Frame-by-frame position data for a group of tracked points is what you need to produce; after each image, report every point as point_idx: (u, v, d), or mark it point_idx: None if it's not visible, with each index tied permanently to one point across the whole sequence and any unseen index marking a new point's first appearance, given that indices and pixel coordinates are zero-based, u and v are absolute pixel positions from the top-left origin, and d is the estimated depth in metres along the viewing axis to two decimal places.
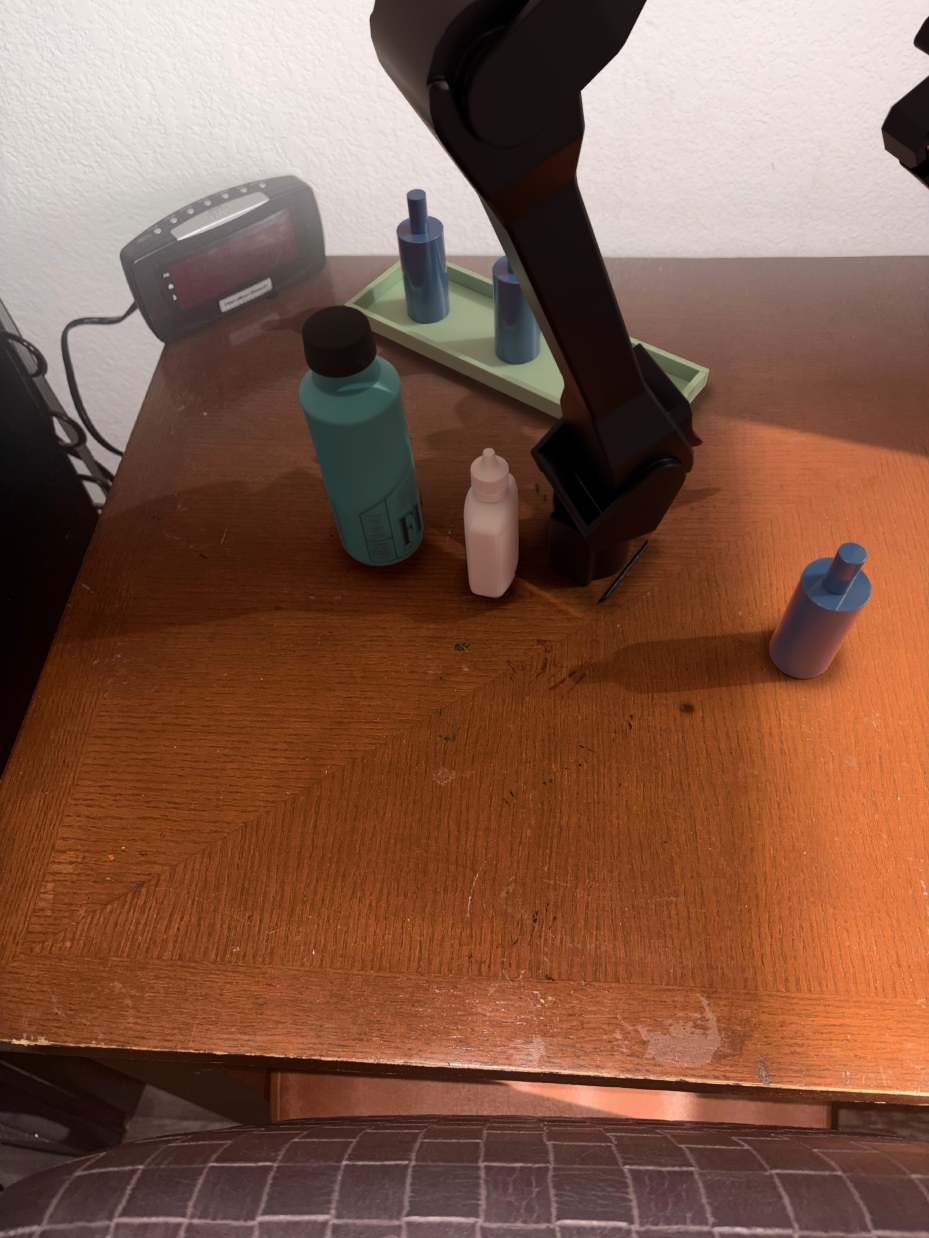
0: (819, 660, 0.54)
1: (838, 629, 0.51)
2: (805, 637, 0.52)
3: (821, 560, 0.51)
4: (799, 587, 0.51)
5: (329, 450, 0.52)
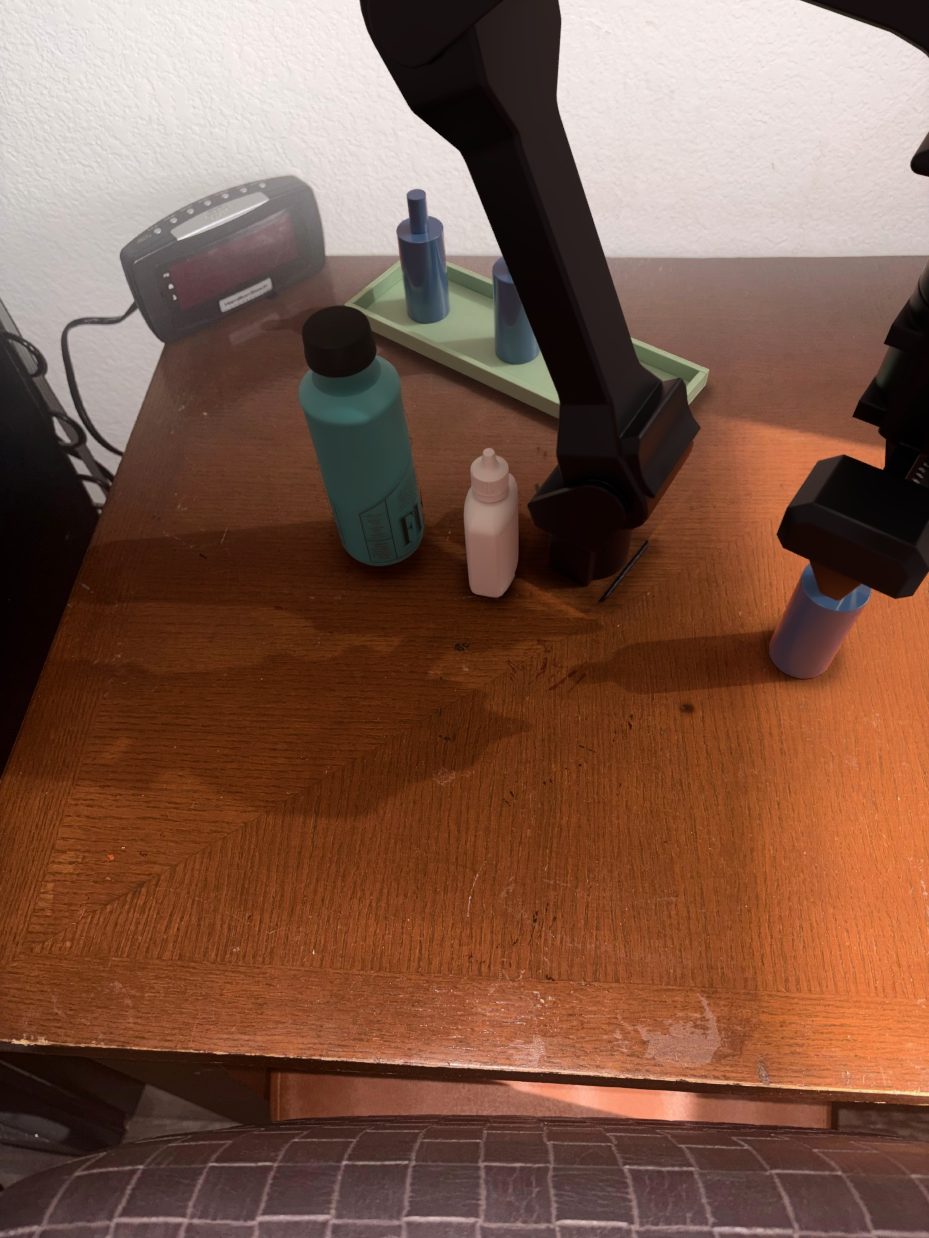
0: (819, 660, 0.54)
1: (838, 629, 0.51)
2: (805, 637, 0.52)
3: None
4: (799, 587, 0.51)
5: (329, 450, 0.52)
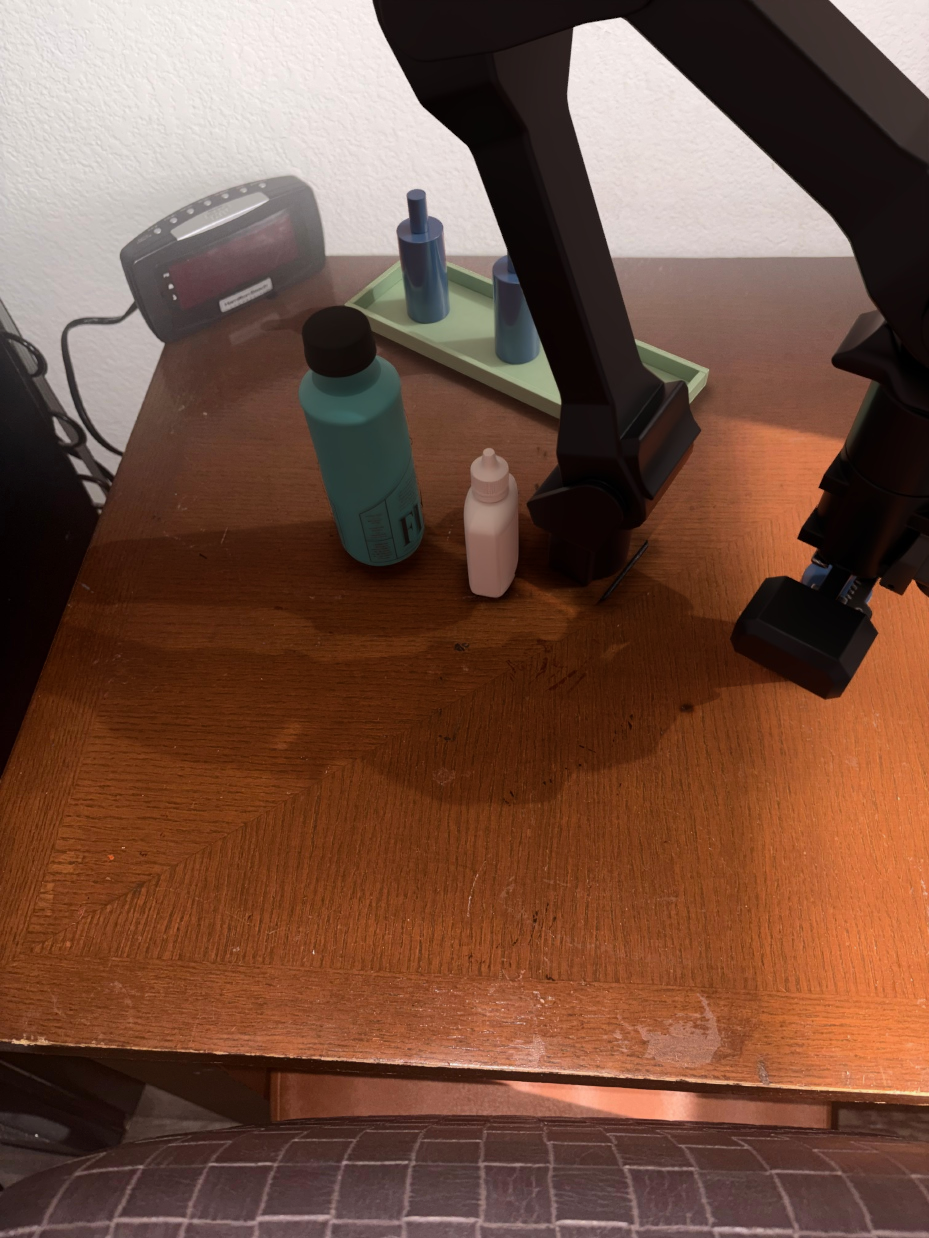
0: None
1: None
2: None
3: None
4: None
5: (329, 450, 0.52)
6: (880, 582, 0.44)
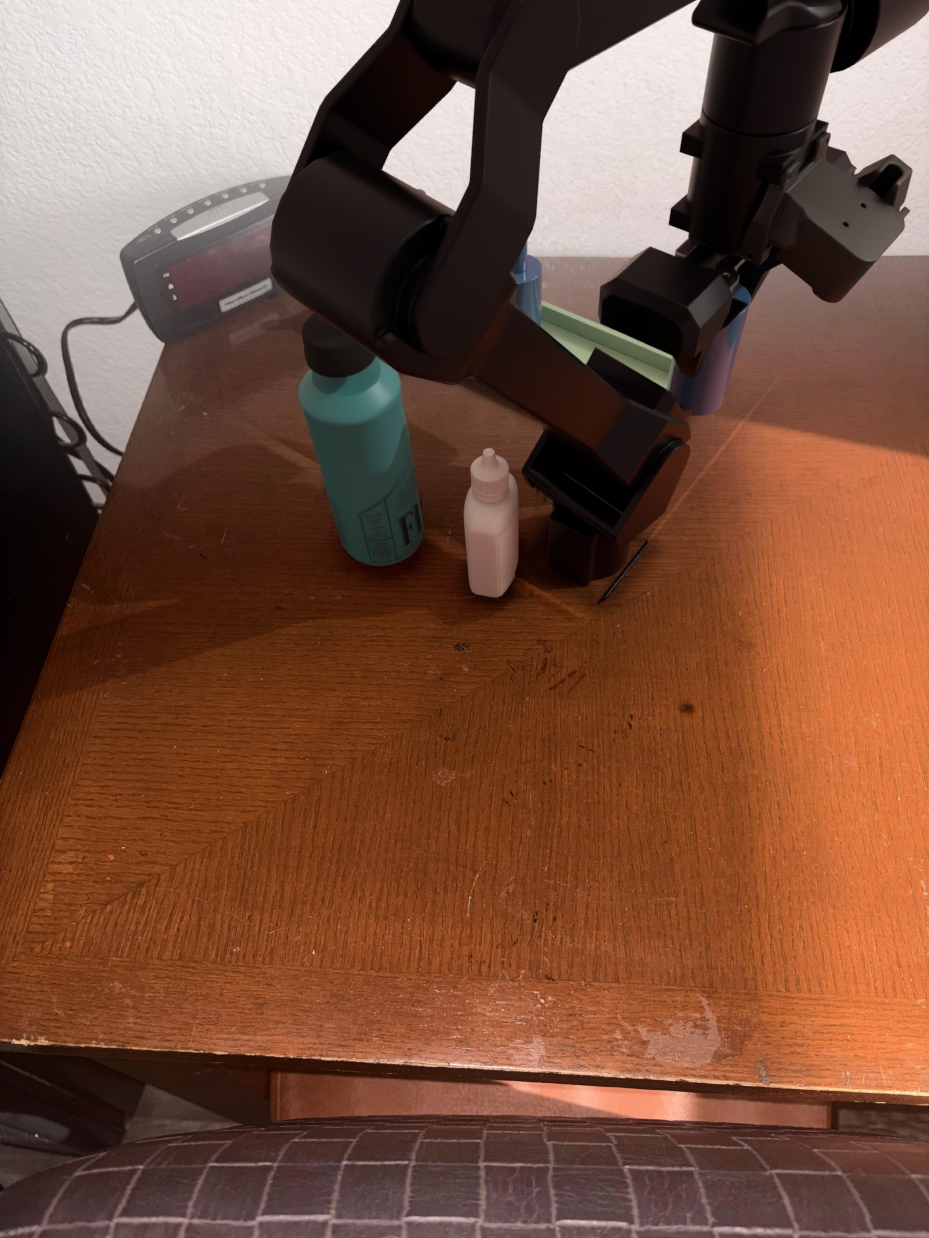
0: (707, 389, 0.56)
1: (719, 343, 0.52)
2: None
3: None
4: None
5: (329, 450, 0.52)
6: (740, 253, 0.46)
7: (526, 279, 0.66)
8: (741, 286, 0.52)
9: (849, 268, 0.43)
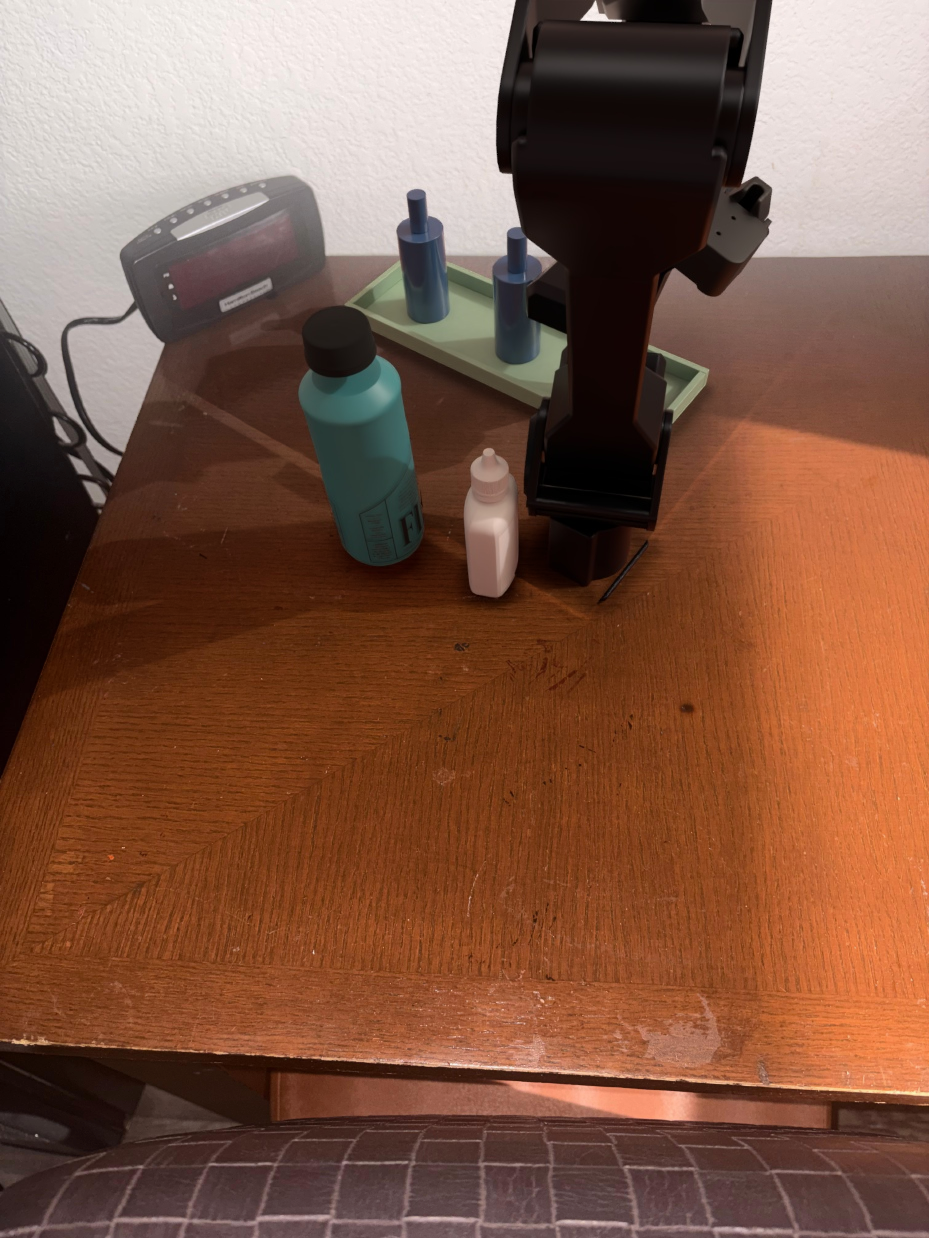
0: None
1: None
2: None
3: None
4: None
5: (329, 450, 0.52)
6: None
7: (526, 279, 0.66)
8: None
9: (722, 268, 0.53)
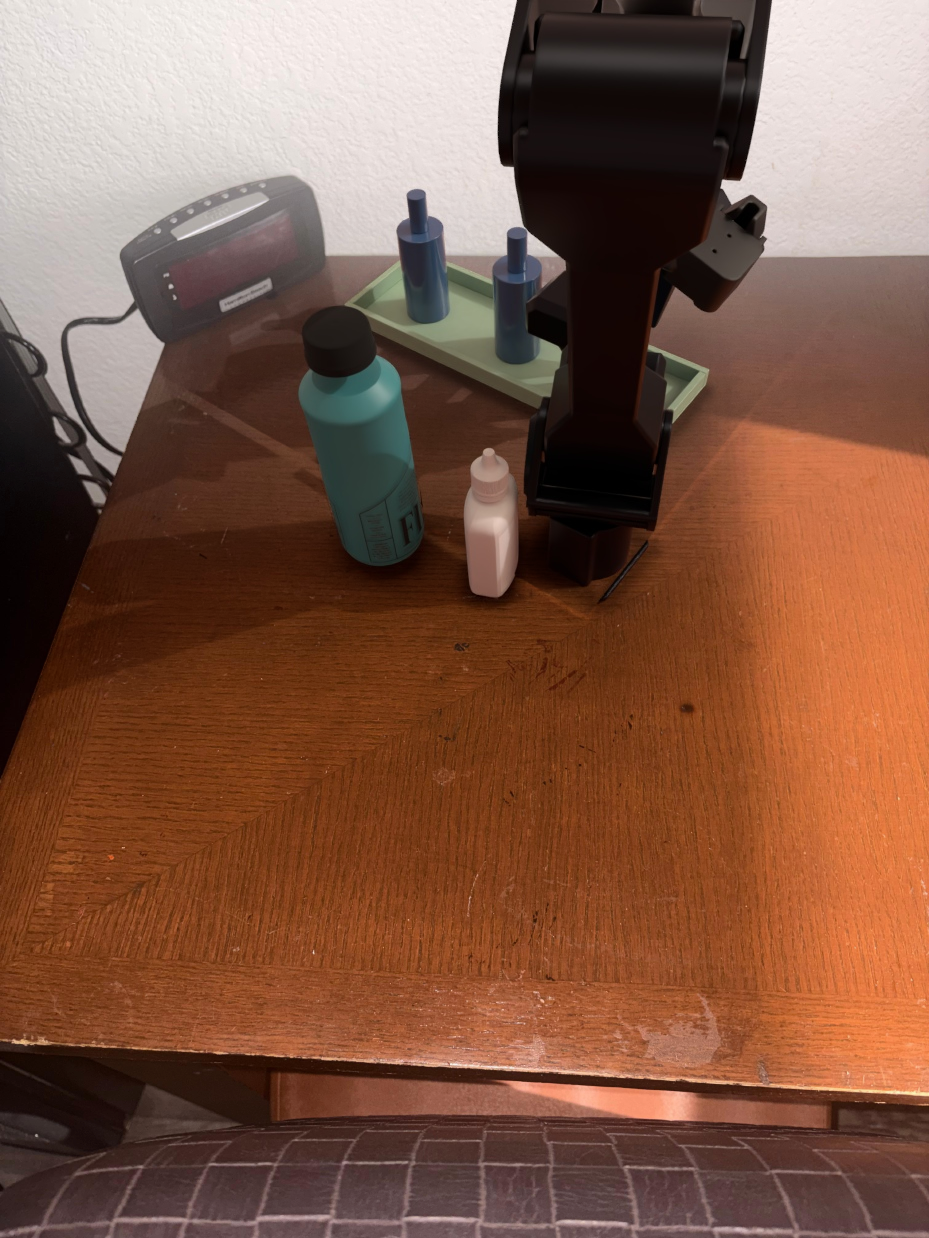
0: None
1: None
2: None
3: None
4: None
5: (329, 450, 0.52)
6: None
7: (526, 279, 0.66)
8: None
9: (718, 285, 0.54)
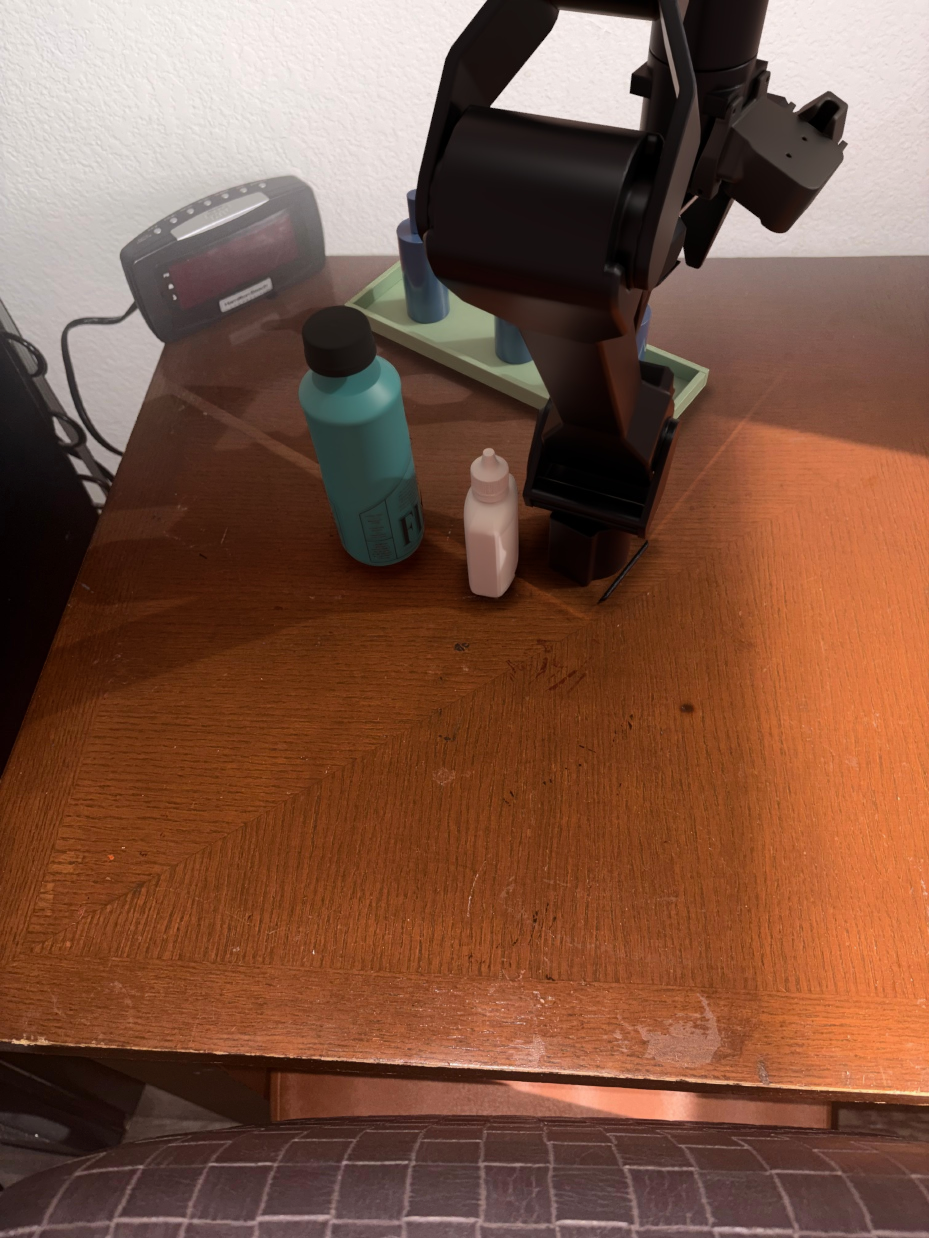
0: None
1: None
2: None
3: None
4: None
5: (329, 450, 0.52)
6: (691, 190, 0.48)
7: None
8: None
9: (794, 197, 0.45)
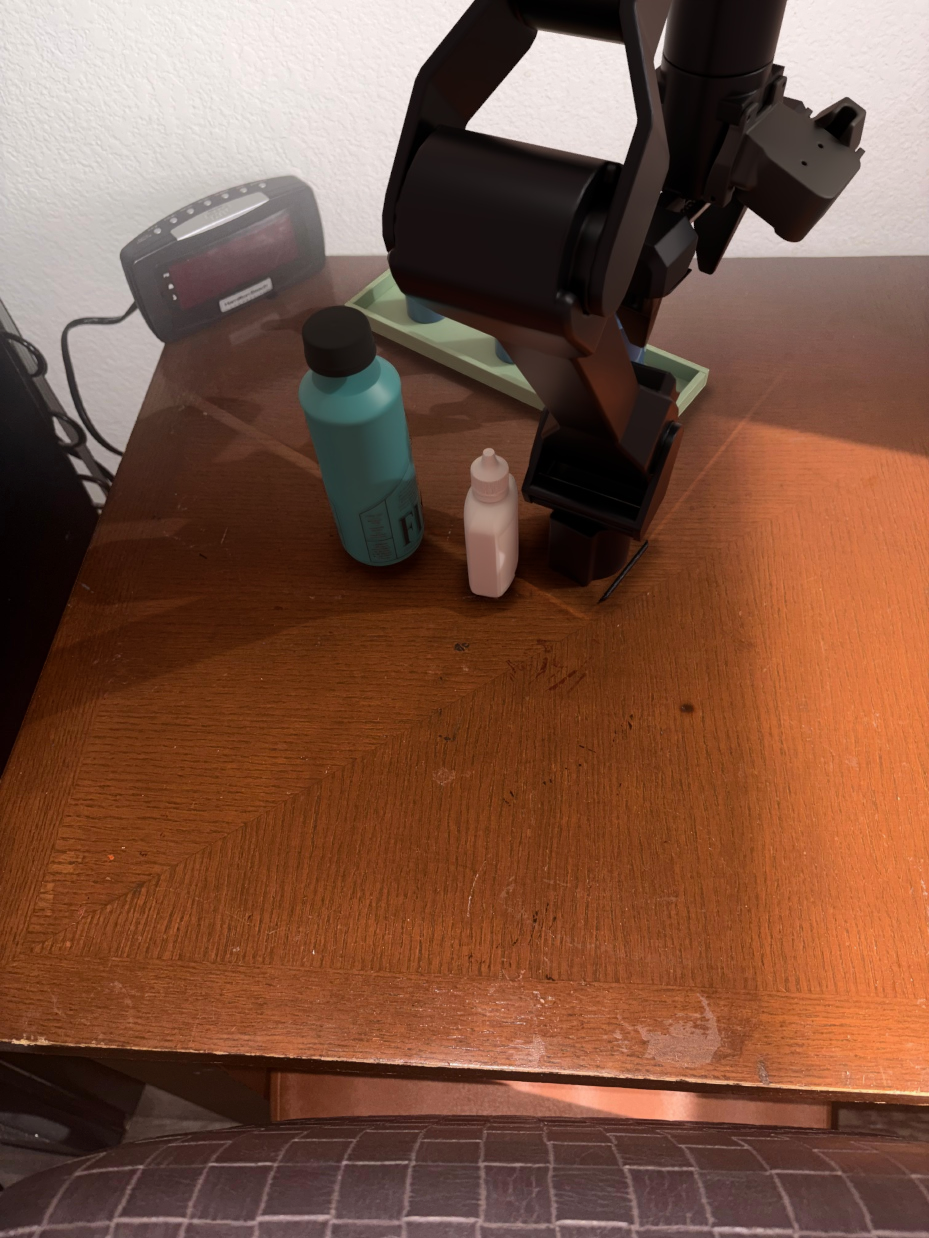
0: None
1: (627, 349, 0.64)
2: None
3: None
4: None
5: (329, 450, 0.52)
6: (704, 197, 0.47)
7: None
8: None
9: (809, 205, 0.44)
